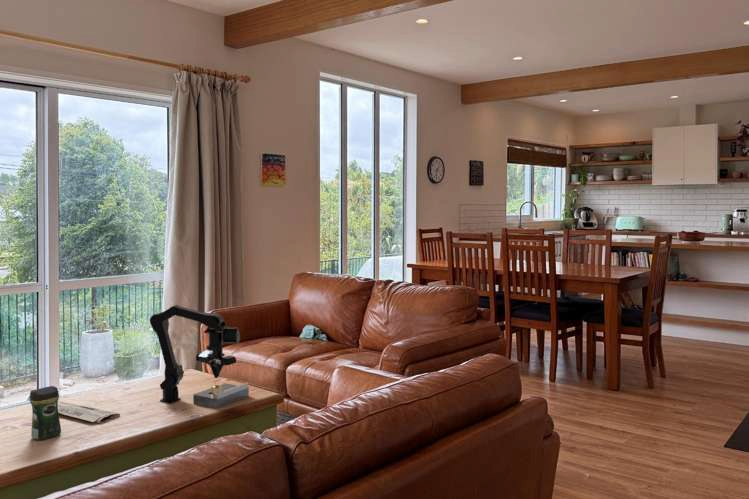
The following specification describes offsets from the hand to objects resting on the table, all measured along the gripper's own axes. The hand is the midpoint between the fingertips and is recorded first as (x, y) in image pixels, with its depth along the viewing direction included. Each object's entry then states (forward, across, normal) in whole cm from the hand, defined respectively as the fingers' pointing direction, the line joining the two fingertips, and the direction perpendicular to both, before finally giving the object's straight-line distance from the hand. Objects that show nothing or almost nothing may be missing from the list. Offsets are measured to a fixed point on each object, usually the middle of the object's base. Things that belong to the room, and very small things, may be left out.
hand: (216, 377), depth 281 cm
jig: (+11, 0, +3) cm, 11 cm away
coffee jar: (+11, -26, -63) cm, 69 cm away
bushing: (+11, 0, 0) cm, 11 cm away
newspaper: (+12, -38, -41) cm, 57 cm away
